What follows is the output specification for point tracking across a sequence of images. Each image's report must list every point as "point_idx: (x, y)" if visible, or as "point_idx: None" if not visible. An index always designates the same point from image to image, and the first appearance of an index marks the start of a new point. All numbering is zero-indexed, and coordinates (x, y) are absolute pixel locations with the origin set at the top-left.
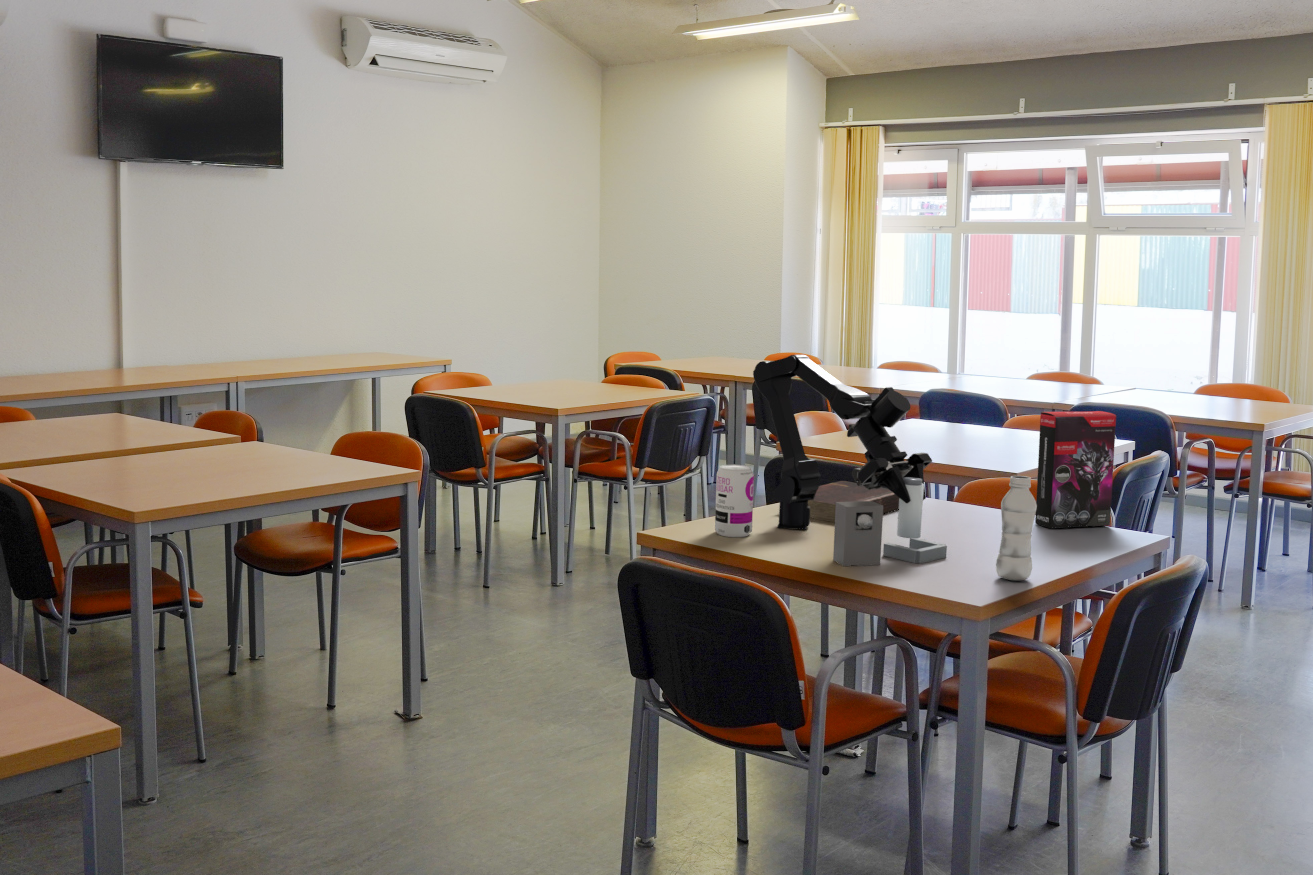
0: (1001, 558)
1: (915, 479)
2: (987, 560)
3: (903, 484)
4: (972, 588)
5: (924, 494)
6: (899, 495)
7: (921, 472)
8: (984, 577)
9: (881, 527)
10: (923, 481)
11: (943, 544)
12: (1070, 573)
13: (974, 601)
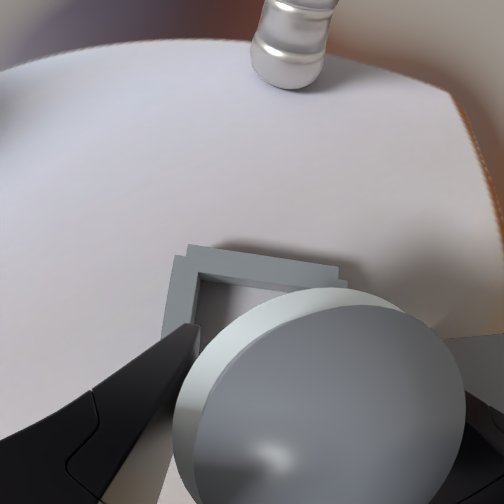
0: (323, 54)
1: (358, 405)
2: (144, 162)
3: (475, 410)
4: (399, 112)
5: (187, 334)
6: None
7: (19, 472)
8: (314, 112)
9: (487, 336)
10: (94, 394)
11: (180, 260)
12: (154, 41)
13: (442, 100)
